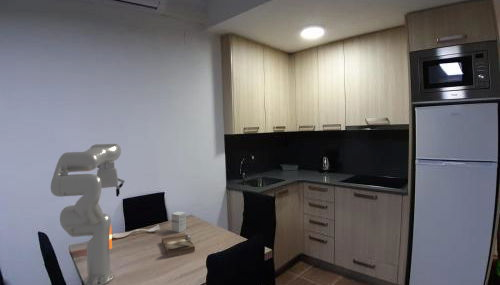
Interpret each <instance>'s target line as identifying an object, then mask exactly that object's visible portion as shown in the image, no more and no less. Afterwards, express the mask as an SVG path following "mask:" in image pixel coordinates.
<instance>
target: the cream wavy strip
mask: <svg viewBox="0 0 500 285" xmlns="http://www.w3.org/2000/svg"><path fill="white" fill-rule="evenodd" d="M161 229H162V228H160V224H157V225H155V226H154V227H152V228H149V229H145V228H139V229H138V228H137V229H134V230H131V231H125V232H117V233H111V234H112V239H122V238H125V237H127V236H129V235H130V234H132V233H135V232H140V231H141V232H142V231H144V232H148V233H153V232H154V233H155V232H157V231H158V232H159V231H161Z"/></svg>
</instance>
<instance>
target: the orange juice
mask: <svg viewBox="0 0 500 285" xmlns="http://www.w3.org/2000/svg"><path fill="white" fill-rule="evenodd" d="M112 234H113V233H112V224H111V225H110V234H109V244H110V250H111V249H113V242H112V241H113V238H112ZM92 237H93V236H91V238H92Z"/></svg>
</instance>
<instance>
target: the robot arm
mask: <svg viewBox="0 0 500 285" xmlns="http://www.w3.org/2000/svg"><path fill="white" fill-rule="evenodd" d="M121 149H122V148H121V146H120V145H119V144H118V143H100V144H98V143H97V144H94V145H91V146H90V148H88V149H87V150H85V151H73V152H71V151H70V152H69V151H68V152H67V151H66V152H64V153H62V155H60V157H59V158H58V161H57V163H56V165H55V169H54V172H53V176H52V178H51V182H50V192H51V194H52V196H55V197H58V198H59V197H71V196H72V197H74V196H75V197H76V196H81V197H79V199H78V200H76V201H75V204H74V205H68V206H65V207H64V208H63V209H62V210H61V212H60V213H59V214H60V215H59V223H60V226H61V228H62V229H63V230H64V231H65V232H66V233H67V234H68V235H69V236H70V237H72V238H78V237H86V236H87V237H90V236H91V238H90V239H89V240H88V242H87V243H86V268H87V269H86V271H87V276H86V277H85V279H84V280H83V285H106V284H108V283H109V282H111V281H112V280H113V279H114V278H115V273H114V272H113V271H112V270H111V249H110V244H109V234H110V225H111V226H112V218H111V217H110V216H111V215H109V214H107V213H104V212H103V210H102V208H101V206H100V204H99V202H100V198H101V194H102V189H107V188H116V189H115V195H116V197H119V195H120V189H121V188H122V187H123V185H124V183H125V180H124V179H120V178H118V171H117V168H116V167H115V161H117V160H118V159H119V157H120V156H121V154H122V150H121ZM95 169H97V170H96V171H97V172H96V174H93V173H81V172H91V171H94V170H95ZM76 172H79V173H81V174H79V173H78V174H77V173H76ZM69 173H75V174H69ZM119 182H120V184H119ZM92 236H93V237H92Z"/></svg>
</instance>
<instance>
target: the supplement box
mask: <svg viewBox="0 0 500 285" xmlns="http://www.w3.org/2000/svg"><path fill="white" fill-rule="evenodd" d="M186 230H187V213H186V212H184V211H175V212H173V213H171V232H176V233H178V234H181V232H184V231H186Z"/></svg>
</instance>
